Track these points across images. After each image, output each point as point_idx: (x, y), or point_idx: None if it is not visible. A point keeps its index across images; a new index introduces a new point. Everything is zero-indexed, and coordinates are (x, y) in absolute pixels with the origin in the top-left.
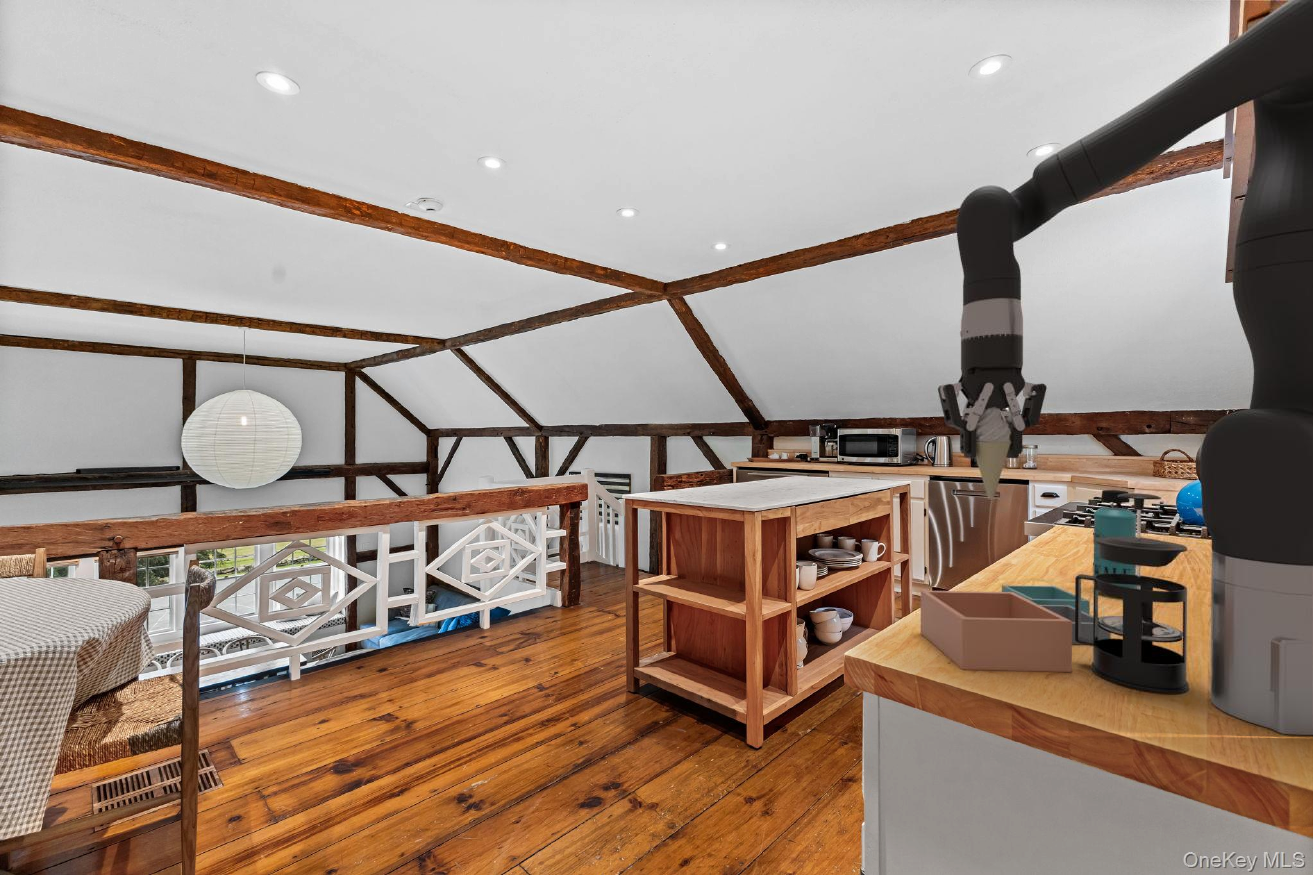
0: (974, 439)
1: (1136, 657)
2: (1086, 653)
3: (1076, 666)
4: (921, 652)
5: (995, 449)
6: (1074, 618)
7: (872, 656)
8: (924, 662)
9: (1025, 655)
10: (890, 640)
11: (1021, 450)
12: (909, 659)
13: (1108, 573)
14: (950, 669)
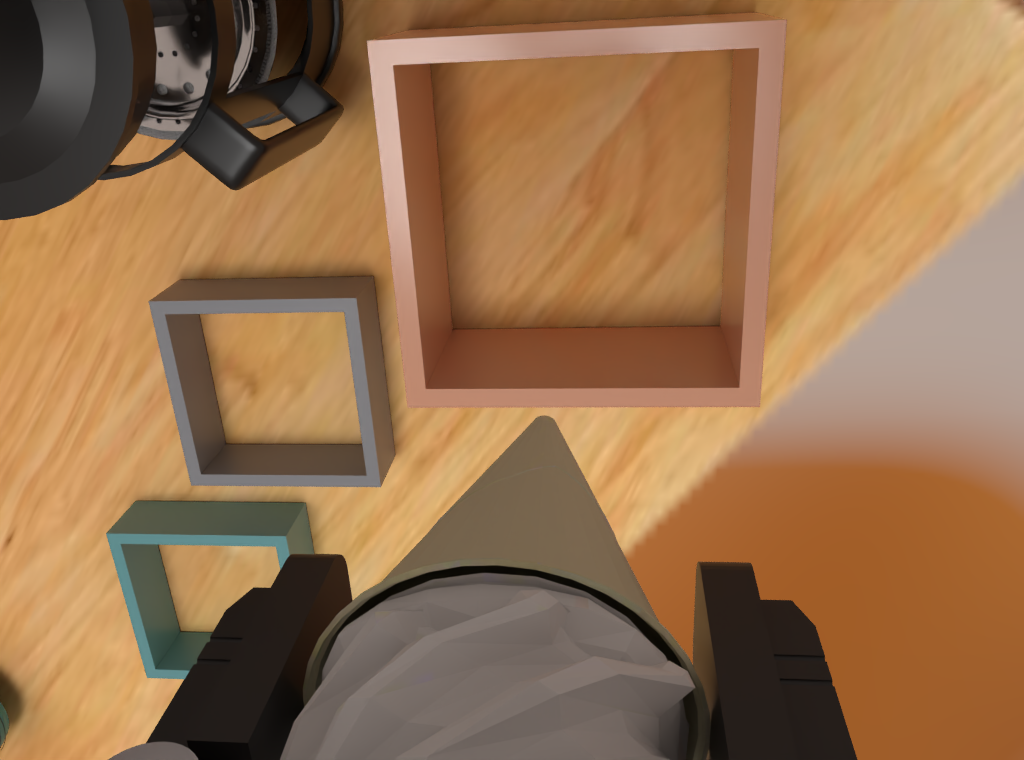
0: (739, 686)
1: None
2: (284, 201)
3: (368, 83)
4: (821, 160)
5: (535, 538)
6: (206, 429)
7: (1020, 104)
8: (856, 65)
9: (546, 25)
10: (878, 266)
11: (235, 610)
12: (897, 88)
13: (119, 174)
14: (796, 8)
